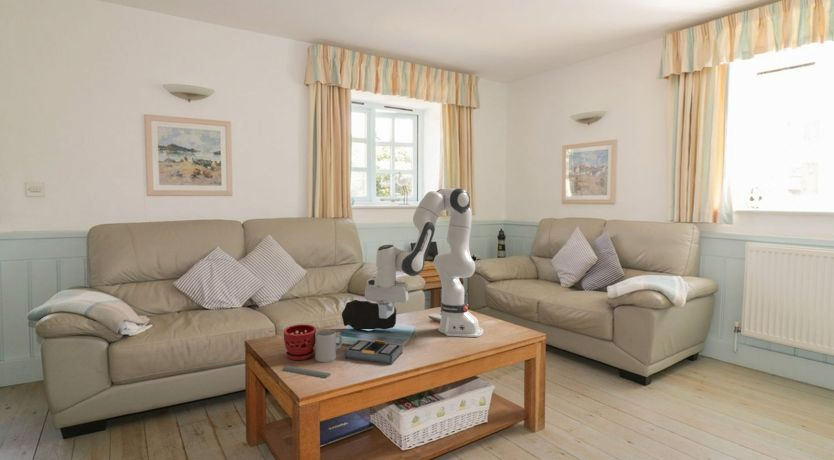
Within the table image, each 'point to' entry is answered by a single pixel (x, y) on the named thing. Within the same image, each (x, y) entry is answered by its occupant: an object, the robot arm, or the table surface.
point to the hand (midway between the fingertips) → (386, 310)
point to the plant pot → (299, 341)
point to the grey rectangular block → (385, 309)
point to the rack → (374, 351)
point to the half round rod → (306, 372)
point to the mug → (326, 345)
